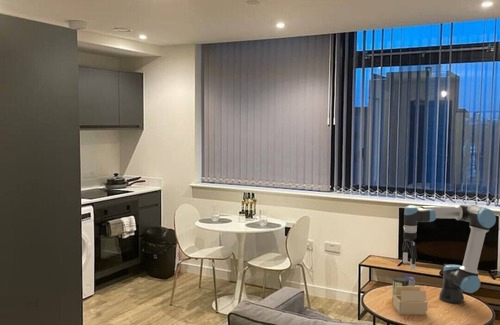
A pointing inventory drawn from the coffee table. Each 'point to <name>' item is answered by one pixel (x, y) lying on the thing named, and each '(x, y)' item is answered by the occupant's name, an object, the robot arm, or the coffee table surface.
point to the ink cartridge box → (410, 280)
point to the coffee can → (399, 283)
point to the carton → (409, 306)
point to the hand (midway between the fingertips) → (408, 265)
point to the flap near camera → (413, 295)
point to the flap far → (406, 289)
